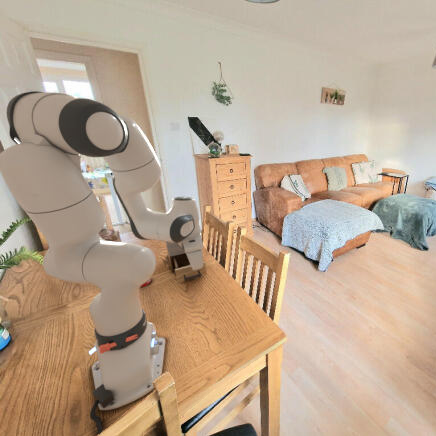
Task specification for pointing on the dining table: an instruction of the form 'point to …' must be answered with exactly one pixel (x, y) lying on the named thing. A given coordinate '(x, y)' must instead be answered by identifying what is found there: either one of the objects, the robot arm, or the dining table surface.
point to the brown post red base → (146, 283)
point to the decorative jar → (110, 235)
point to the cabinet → (174, 252)
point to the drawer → (186, 269)
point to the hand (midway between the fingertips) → (193, 267)
